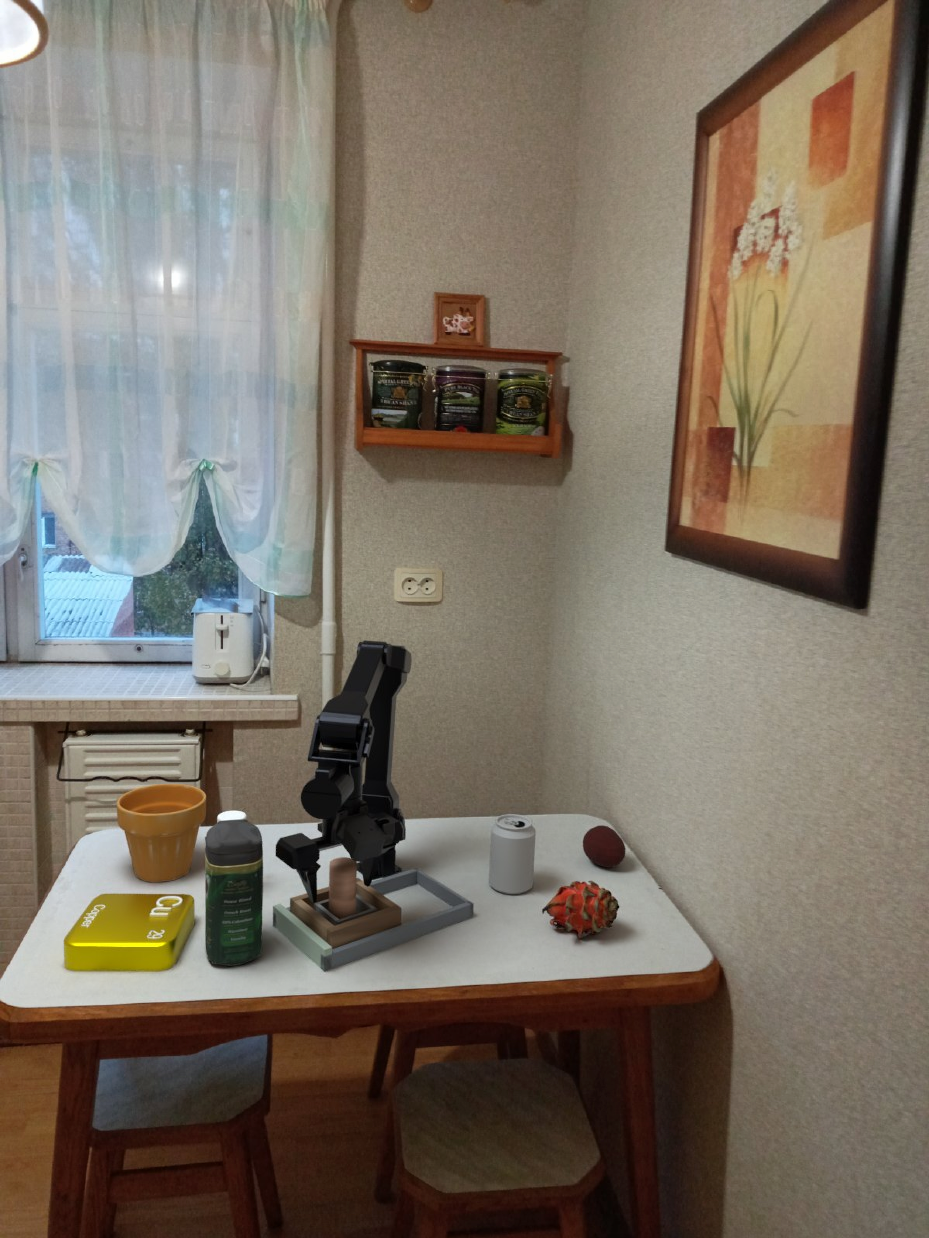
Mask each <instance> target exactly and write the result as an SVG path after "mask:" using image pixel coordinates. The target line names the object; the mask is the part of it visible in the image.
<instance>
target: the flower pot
mask: <svg viewBox="0 0 929 1238" xmlns="http://www.w3.org/2000/svg"><path fill="white" fill-rule="evenodd" d="M206 816H207V795H206V792H204V791H203V790H202V789H201V788H199V787H196V786H193V785H188V784H182V783H181V784H180V783H162V784H161V783H158V784H151V785H146V786H143V787H138V788H133V789H132V790H129V791H127V792H125V793H123V794H122V795H121V796H120V797H119V798H118V799H117V800H116V820H117V824H118V827H119V828H120V829H121V830H122V831H124V836H125V840H126V844H127V847H128V851H129V857H130V860H131V862H132V863H131V864H132V867H133V871H134V874H135V876H136V877H137V878H138V879H139V880H143V881H144V882H151V883H162V882H171V881H174V880H177V879H180V878H183V876H186V875H187V874H188V873H189V871H190V869H191V865H192V860H193V857H194V853H195V848H196V844H197V841H198V840H197V838H198V834H199V830H200V826H201V825H202V824H203V822H204V821H205V820H206Z"/></svg>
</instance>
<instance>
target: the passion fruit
mask: <svg viewBox="0 0 929 1238" xmlns="http://www.w3.org/2000/svg"><path fill="white" fill-rule="evenodd" d="M582 847H583V848H582V849H583V850H582V851H583V853H584V854H585V856H586V857H587V859H588V860H590V861H591V862H592V863H595V864H596V865H597V866H601V867H604V868H614V867H615V868H616V867H617V866H620V864H621V863H622V862H623V861H624V859H625V857H626V846H625V843H624V841H623V839H622V838H621V837H620V835H619V834H618V832H616V831H615V829H613V828H612V827H609V826H607V825H603V824H602V825H596V826H594V827H592V828H589V830H587V831H586V833H585V834H584V835H583V839H582Z"/></svg>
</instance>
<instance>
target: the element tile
mask: <svg viewBox="0 0 929 1238" xmlns="http://www.w3.org/2000/svg"><path fill="white" fill-rule="evenodd" d="M195 914H196V913H195V898H194V896H192V895H191V894H183V893H100V894H99V895H97V896H96V897H95V898H93V899H92V900H91V901H90V902H89V904H88V905H87V907H86V908H85V910H84V911H83V912H82V913H81V915H80V916H79V918H78V919H77V920H76V921H75V923H74V925H73V926H72V927H71V929H70V930H69V932H68V933H67V934H66V935H65V937H64V939H63V958H64V959H63V960H64V969H66V970H68V971H70V972H71V971H72V972H162V971H167V970H169V969H171V968H172V967H174V966H175V965H176V964H177V962H178V959H179V957H180V955H181V953H182V951H183V949H184V947H185V945H186V942H187V941H188V939H189V937H190V934H191V932H192V929H193V928H194V927H195V920H196V919H195Z"/></svg>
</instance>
